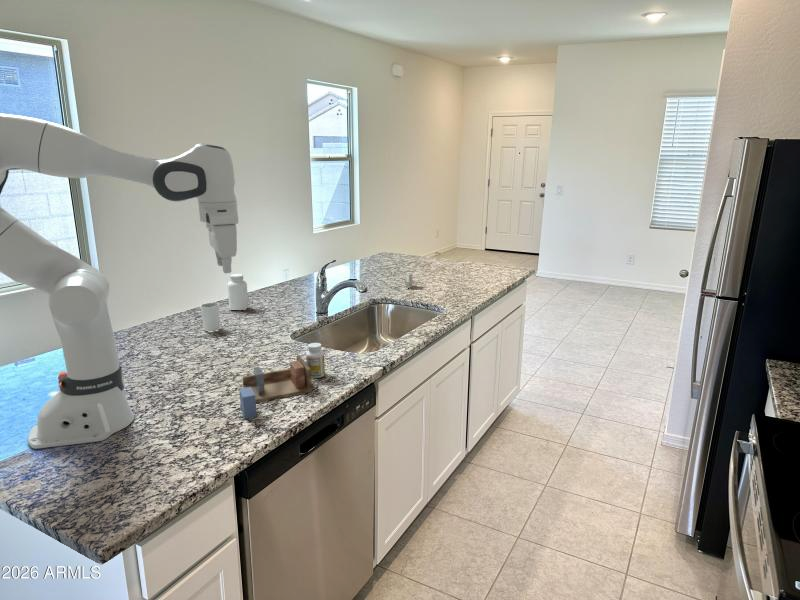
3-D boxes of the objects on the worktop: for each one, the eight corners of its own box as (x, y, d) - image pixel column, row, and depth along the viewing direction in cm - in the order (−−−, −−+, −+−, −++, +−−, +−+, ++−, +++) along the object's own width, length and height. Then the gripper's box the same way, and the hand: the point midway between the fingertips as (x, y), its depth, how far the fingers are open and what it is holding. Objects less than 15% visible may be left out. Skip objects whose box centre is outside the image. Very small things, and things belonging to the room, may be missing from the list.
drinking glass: (224, 327, 207) (221, 302, 204) (216, 333, 200) (214, 307, 198) (207, 326, 207) (205, 302, 205) (199, 332, 201) (197, 307, 198)
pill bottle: (252, 308, 232) (250, 274, 228) (238, 312, 225) (235, 278, 221) (240, 305, 236) (237, 272, 232) (225, 310, 229) (222, 275, 225)
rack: (250, 403, 145) (248, 380, 143) (243, 386, 155) (241, 365, 153) (311, 391, 152) (310, 369, 150) (300, 376, 162) (299, 355, 160)
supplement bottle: (316, 369, 167) (315, 340, 164) (328, 374, 163) (327, 344, 161) (303, 375, 163) (301, 345, 160) (315, 380, 159) (313, 349, 157)
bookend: (259, 395, 148) (257, 374, 146) (255, 387, 152) (253, 367, 151) (264, 393, 148) (263, 373, 147) (260, 386, 153) (259, 366, 151)
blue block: (244, 418, 137) (242, 397, 135) (241, 409, 141) (239, 388, 140) (256, 416, 138) (255, 395, 136) (252, 407, 143) (250, 386, 141)
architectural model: (402, 289, 264) (402, 275, 262) (406, 286, 270) (406, 272, 268) (409, 290, 263) (409, 275, 261) (413, 287, 269) (413, 272, 267)
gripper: (200, 209, 138) (205, 262, 142) (210, 218, 120) (216, 278, 124) (225, 208, 141) (230, 260, 145) (239, 217, 123) (244, 275, 127)
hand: (224, 268), depth 134 cm, fingers open, 8 cm apart
